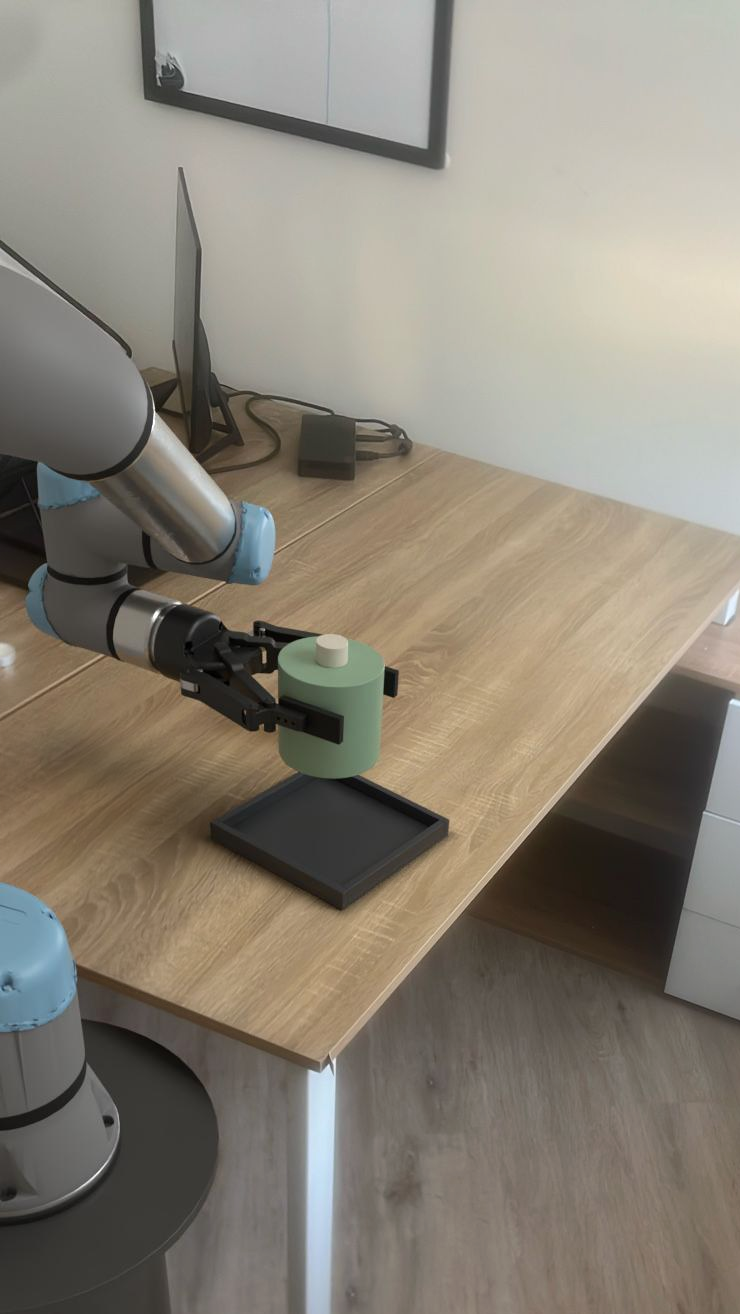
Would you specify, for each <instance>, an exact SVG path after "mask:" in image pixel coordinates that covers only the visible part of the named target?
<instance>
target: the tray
mask: <svg viewBox="0 0 740 1314" xmlns="http://www.w3.org/2000/svg"><path fill="white" fill-rule="evenodd" d="M209 828H210V829H209V831H210V839H211V840H212V841H214V842H216V843H218V844H220V845H222V846H223V847H226V848H227V849H229V850H231V851H233V852H234V853H236V854H238V855H240V856H242V857H244V858H245V859H247V860H250V861H251V862H253V863H254V864H257V865H259V866H260V867H262V868H264V869H265V870H268V871H269V872H272V873H273V874H275V875H277V876H279V877H281V878H283V880H286V881H287V882H290V883H292V884H293V885H295V886H297V887H299V888H301V889H303V891H306V892H308V893H310V894H312V895H314V896H316V897H317V898H319V899H320V900H323V901H325V902H327V903H328V904H330V905H332V906H334V907H335V908H338V909H339V910H341V911H343V910H345V909H347V907H349V906H350V905H352V904H353V903H354V902H357V900H359V899H361V897H363V896H365V895H366V894H367V893H369V892H370V891H372V890H373V889H374V888H376V887H378V885H380V884H382V883H383V882H384V881H386V880H387V879H389V878H390V877H392V876H393V875H394V874H396V873H397V872H398V871H400V870H402V869H403V868H404V867H406V866H407V865H408V864H410V863H411V862H412V861H415V860H416V859H417V858H418V857H420V856H422V854H424V853H425V852H427V851H428V850H430V849H431V848H433V847H434V846H436V845H437V844H438V843H439V842H441V841H442V840H443V839H445V838H447V837H448V836H449V829H450V819H449V818H447V817H445V816H443V815H441V814H439V813H437V812H435V811H433V810H431V809H428V808H427V807H425V806H423V805H420V804H419V803H417V802H414V801H412V800H410V799H408V798H407V797H404V796H403V795H400V794H398V793H396V792H395V791H392V790H390V789H388V788H387V787H385V786H383V785H380V784H378V783H376V782H375V781H372V780H370V779H368V778H366V777H364V776H362V775H361V774H359V775H356V776H352V777H347V778H336V779H331V778H319V777H313V776H309V775H306V774H303V773H300V772H298V771H296V772H295V773H293V774H292V775H290V776H287V777H286V778H285V779H283V780H281V781H279V782H277V783H275V784H273V785H272V786H270V787H268V788H267V789H265V790H263V791H262V792H260V793H258V794H257V795H255V796H252V797H251V798H249V799H248V800H246V801H244V802H243V803H241V804H239V805H237V806H236V807H234V808H232V809H231V810H228V811H227V812H225V813H224V814H221V815H220V816H218V817H216V818H215V819H213V820H212V821H210V822H209Z"/></svg>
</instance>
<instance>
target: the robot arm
mask: <svg viewBox="0 0 740 1314" xmlns="http://www.w3.org/2000/svg"><path fill="white" fill-rule="evenodd" d="M0 455H5V456H11V457H14V458H15V457H16V458H19V459H24V460H29V461H31V462H32V461H33V462H36V463H37V466H36V476H37V477H36V478H37V494H38V500H37V508H38V509H39V512H40V513H39V514H40V521H41V527H42V534H43V541H44V543H43V544H44V549H45V555H46V557H45V558H46V562H45V563H44V564H42V565H40V566H39V567H38V568H37V569H36V570H35V571H34V572H33V573H32V575H31V577H30V579H29V581H28V584H27V587H28V590H29V592H28V593H27V595H26V596H25V608H26V614H27V616H28V618H29V620H30V622H31V623H32V625H33V626H34V627H35V628H36V629H37V630H39V631H40V632H41V633H43V634H45V635H48V636H50V637H52V638H55V639H57V640H59V641H61V642H63V643H64V644H65V645H68V646H71V647H74V648H81V649H84V650H87V651H91V652H94V653H96V654H100V655H102V656H103V655H104V656H106V657H109V658H112V659H116V660H117V661H119V662H122V663H126V664H129V665H132V666H134V667H137V668H140V669H143V670H145V671H148V672H151V673H153V674H157V675H162V676H163V677H165V678H167V679H169V680H172V681H175V682H178V683H179V684H180V694H181V696H183V697H186V698H189V699H193V700H195V701H199V702H200V703H202V704H203V705H206V706H207V707H209V708H211V709H212V710H214V711H215V712H217V713H219V714H220V715H222V716H223V717H225V718H226V719H229V720H230V721H231V722H233V723H235V724H236V725H238V726H240V727H241V728H243V729H244V730H246V731H248V732H251V733H255V732H258V731H259V730H260V726H262V725H263V732H264V733H268V734H272V733H273V734H274V733H275V732H276V731H277V726H278V725H280V726H283V727H286V728H289V729H292V730H294V731H299V732H304V733H307V734H310V735H312V736H315V737H318V738H321V739H324V740H327V741H329V742H332V743H335V744H338V745H340V744H341V743H342V742H343V732H344V716H342V715H340V714H337V713H334V712H331V711H328V710H325V709H322V708H319V707H316V706H313V705H310V704H307V703H304V702H301V701H299V700H296V699H293V698H290V697H287V696H284V695H282V696H281V697H280V698H279V704H278V702H277V700H276V698H275V697H274V695H272V694H271V693H270V692H269V691H268V690H267V689H266V688H265V687H264V686H263V685H262V684H261V683H260V682H258V681H257V679H256V678H254V677H253V676H254V675H256V674H263V675H271V674H273V673H274V672H275V671H278V655H279V653H280V651H281V650H282V649H283V648H284V647H285V646H286V645H288V644H290V643H291V642H294V641H296V640H300V639H303V638H308V637H316V636H321V635H324V633H318V632H311V631H306V630H300V629H295V628H290V627H283V626H277V625H274V624H271V623H269V622H266V621H264V620H254V621H253V622H252V630H251V631H249V632H245V631H237V630H230V629H229V628H228V627H226V625H225V624H224V623H223V621H222V620H221V618H220V617H219V616H218V615H217V614H215V612H212V611H209V610H206V609H203V608H200V607H197V606H194V605H191V604H187V603H182V602H181V601H180V600H177V599H174V598H171V597H168V596H164V595H161V594H158V593H154V592H152V591H148V590H146V589H143V588H139V587H138V586H134V585H132V584H130V583H129V582H128V571H129V566H136V567H140V568H146V569H147V568H148V569H153V570H157V571H166V572H170V573H176V574H181V575H188V576H192V577H198V578H202V579H203V578H204V579H208V580H214V581H220V582H224V583H225V584H227V585H232V584H238V585H244V586H245V585H247V586H259V585H261V584H262V583H264V582H265V581H266V580H267V578H268V576H269V574H270V571H271V569H272V565H273V561H274V557H275V556H274V555H275V550H276V549H275V548H276V525H275V521H274V517H273V514H272V513H271V512H270V511H269V509H268V508H267V507H264V506H261V505H256V504H252V503H249V502H247V501H246V500H240V501H239V500H238V501H236V500H231V499H230V498H229V497H228V496H227V495H226V494H225V493H224V491H223V490H222V489H221V488H220V486H218V484H217V483H216V482H215V481H214V480H213V478H212V477H211V476H210V475H209V473H208V472H207V471H206V470H205V469H204V468H203V466H202V465H201V464H200V463H199V461H198V460H197V459H196V458H195V456H193V454H192V453H191V452H190V451H189V449H188V448H187V447H186V446H185V444H183V442H182V441H181V439H180V438H178V436H177V435H176V434H175V433H174V432H173V430H172V429H170V427H169V426H168V425H167V423H165V421H164V420H163V419H162V418H161V416H160V415H159V414H158V413H157V412H156V407H155V401H154V396H153V393H152V390H151V387H150V386H149V383H148V381H147V379H146V377H145V376H144V375H143V374H142V372H141V371H140V369H139V368H138V367H137V366H136V364H135V363H134V361H132V359H131V358H130V357H129V356H128V355H127V354H126V353H125V352H124V351H123V349H121V347H120V346H119V345H118V344H117V343H116V342H115V341H114V340H113V339H112V337H110V336H109V335H108V334H106V332H105V331H103V330H102V329H101V328H100V327H98V326H97V324H95V322H92V320H90V319H89V318H88V317H86V316H85V315H84V314H83V313H81V312H80V311H79V310H77V308H75V307H74V306H72V305H71V304H69V303H68V302H66V300H64V299H63V298H61V297H59V296H58V295H56V294H55V293H54V292H52V291H51V290H49V289H48V288H45V287H44V286H43V285H41V284H39V283H37V282H36V281H35V280H33V279H31V278H29V277H27V276H25V275H23V274H21V273H19V272H17V271H16V270H13V269H11V268H9V267H8V266H4V265H2V264H0ZM264 652H265V662H264V659H263V657H264V656H263V655H264V654H263V653H264ZM399 675H400V670H398V669H395V668H393V667H390V666H386V665H385V670H384V688H383V696H386V697H389V698H391V699H395V698H396V697H397V696H398V693H399V690H398V689H399ZM77 972H78V970H77V966H76V963H75V959H74V956H73V954H72V952H71V948H70V945H69V940H68V937H67V933H66V930H65V928H64V926H63V924H62V923H61V922H60V920H59V919H58V917H57V915H56V913H55V912H54V911H53V909H51V908H50V907H49V906H48V905H47V904H46V903H45V902H43V900H41V899H40V898H38V897H37V896H35V895H34V894H32V893H30V892H28V891H26V890H24V889H22V888H20V887H18V886H15V885H12V884H8V883H6V882H1V881H0V1226H11V1225H19V1224H25V1223H31V1222H35V1221H38V1220H42V1219H45V1218H48V1217H51V1216H54V1215H56V1214H58V1213H61V1212H63V1211H65V1210H67V1209H69V1208H71V1207H73V1206H74V1205H76V1204H78V1203H79V1202H81V1201H82V1200H84V1199H85V1198H86V1197H88V1196H89V1195H90V1194H91V1193H92V1192H94V1191H95V1190H96V1189H97V1188H98V1187H99V1186H100V1185H101V1184H102V1183H103V1181H104V1180H105V1179H106V1178H107V1177H108V1175H109V1174H110V1172H111V1171H112V1169H113V1167H114V1165H115V1163H116V1161H117V1158H118V1155H119V1151H120V1146H121V1131H120V1123H119V1116H118V1112H117V1109H116V1107H115V1105H114V1103H113V1101H112V1099H111V1097H110V1095H109V1094H108V1092H107V1091H106V1089H105V1088H104V1086H103V1085H102V1083H101V1082H100V1081H99V1079H98V1078H97V1076H96V1075H95V1073H94V1072H93V1070H92V1069H91V1068H90V1066H89V1065H88V1063H87V1062H86V1055H85V1047H84V1040H83V1032H82V1024H81V1019H82V1018H81V1011H80V1010H81V1009H80V1004H79V996H78V995H79V993H78V988H77V983H78V976H77V974H78V973H77Z"/></svg>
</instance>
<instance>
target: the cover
mask: <svg viewBox="0 0 740 1314" xmlns="http://www.w3.org/2000/svg"><path fill="white" fill-rule="evenodd" d="M323 634H324V633H323ZM385 666H386V664H385V660H384V657H383V656H382V655H381V653H379V652H378V650H377V649H375V648H373V647H372V646H370V645H369V644H366V643H364V642H361V641H359V640H355V639H351V638H348V637H344V636H343V635H340V634H334V633H325V634H324V635H321V636H316V637H308V638H303V639H300V640H296V641H294V642H291V643H290V644H288V645H286V646H285V647H284V648H283V649H282V650H281V651H280V653H279V655H278V670H277V704H279V698H280V697H281V696H282V695H284V696H287V697H290V698H293V699H296V700H299V701H301V702H304V703H307V704H310V705H313V706H316V707H319V708H322V709H325V710H328V711H331V712H334V713H337V714H340V715H342V716H344V732H343V742H342V743H341V744H340V745H338V744H335V743H332V742H329V741H327V740H324V739H321V738H318V737H315V736H312V735H310V734H307V733H304V732H299V731H294V730H292V729H289V728H286V727H283V726H280V725H277V730H278V731H277V747H278V748H277V750H278V751H277V752H278V755H279V757H280V759H281V760H282V762H284V763H285V765H286V766H288V767H289V768H291V769H292V770H294V771H296V772H300V773H303V774H306V775H309V776H313V777H319V778H331V779H336V778H347V777H352V776H356V775H362V774H364V773H366V772H368V771H370V770H371V769H373V768H374V767H375V766H376V764H377V763H378V762H379V759H380V757H381V742H382V721H383V707H384V706H383V705H384V695H383V688H384V670H385Z"/></svg>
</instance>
